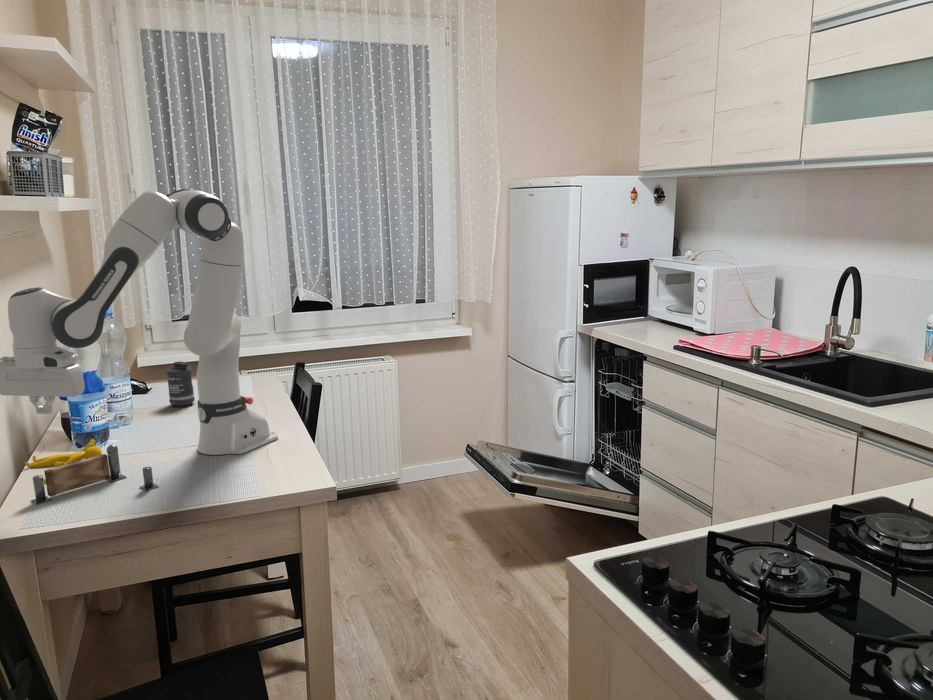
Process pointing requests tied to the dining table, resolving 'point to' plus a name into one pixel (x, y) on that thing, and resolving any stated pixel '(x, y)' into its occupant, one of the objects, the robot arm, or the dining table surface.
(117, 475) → the hinge post
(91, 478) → the gate
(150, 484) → the post
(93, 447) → the figurine
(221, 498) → the dining table surface
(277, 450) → the dining table surface
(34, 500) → the latch stile
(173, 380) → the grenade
